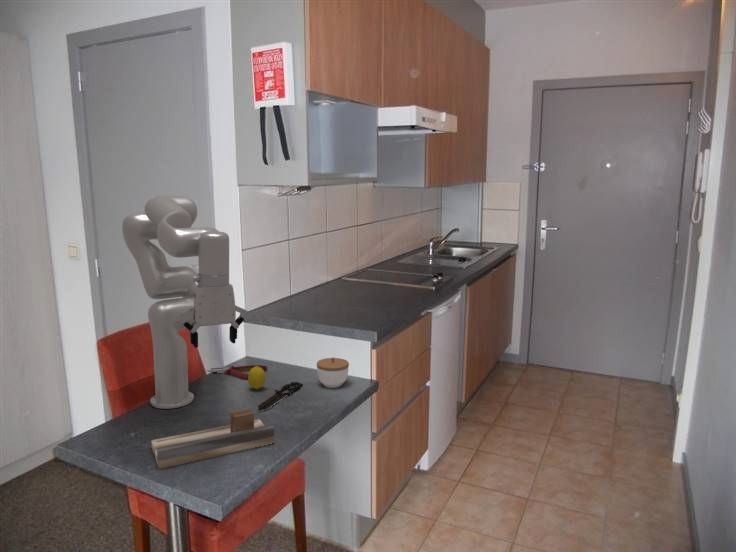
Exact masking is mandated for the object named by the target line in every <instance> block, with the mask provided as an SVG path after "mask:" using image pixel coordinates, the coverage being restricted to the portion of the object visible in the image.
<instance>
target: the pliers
mask: <svg viewBox="0 0 736 552" xmlns="http://www.w3.org/2000/svg"><path fill="white" fill-rule="evenodd" d="M255 366H258V367H260V368H262V369H263V370H264V372H268V367H267V366H266V365H262V364H250V365H242V366H241V365H239V366H234V365H231V366H230V367H226V366H225V367H212V368H210V369H209V370H207V372H208V373H213V372H216V371H217V373H216V374H219V373H226V374H225V376H226V375H228V376H231V375H232V376H231V377H234V376H235V377H234V378H237V377H238V378H237V379H240V380H244V381H248V374H249V373H246V372H249V371H250V370H251V369H252V368H254V367H255Z"/></svg>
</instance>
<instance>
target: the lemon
mask: <svg viewBox="0 0 736 552" xmlns="http://www.w3.org/2000/svg"><path fill="white" fill-rule="evenodd" d="M247 374H248V380H247V381H248V384H249V386H250V387H251V388H253V389H255V390H256V391H257V390H259V389H260V388H262V387H263V386H264V385H265V383H266V373H265V371H264V370H263V369H262V368H260V367H258V366H255V367H254V368H252V369H251V370H250V371H248V373H247Z"/></svg>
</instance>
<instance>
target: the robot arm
mask: <svg viewBox="0 0 736 552" xmlns="http://www.w3.org/2000/svg"><path fill="white" fill-rule="evenodd" d="M197 217H198V207H197V205H196V202H195V201H194V200H193V198H191V197H189V196H186V195H157V196H153V197H151V198H150V199H148V200H147V201H146V202H145V205H144V212H134V213H130V214H128V215H126V216H125V218H123V221H122V226H121V228H122V229H121V230H122V236H123V239H124V242H125V245H126V246H127V249H128V250H129V252H130V253H131V255H132V256H133V258H134V260H135V262H136V264H137V267H138V271H139V274H140V277H141V281H142V284H143V288H144V290H145V293H146V294H147V296H148V298H150V299H151V300H159V301H156V302H154V303H153V304H151V305H150V306H149V308H148V312H147V317H148V319H147V320H148V323H149V326H150V327H149V328H150V331H151V332H150V333H151V338H152V349H153V350H152V351H153V370H154V390H155V395H153V396H152V397H151V398H150V400H149V401H150V406H152V407H154V408H155V409H164V410H166V409H168V410H169V409H177V408H182V407H185V406H188V405H190V404H191V403H192V402H194V400H195V394H194V393H193V392H191V391H190V390H189V375H188V374H189V368H188V350H187V349H188V347H187V346H188V345H187V342H186V340H185V339H184V338H183V337H182V336H181V334H179V331H184V330H188V331H190V336H189V337H190V338H189V339H190V344H191V345H192V346H193V347H194V348H195V349H196V348H199V333H198V331H197V330H198V329H199V328H200V327H208V326H219V325H228V324H230V326H229V342H231V343H232V344H236V340H237V339H238V329H239V328H240V326H241V324H242V323H243V322H244V321H245V319H246V317H247V315H248V311H247V310H246V309H245V308H243V307H240V306H238V305H236V300H235V292H234V286H233V285H232V284H231V283H230V236H229V234H228V233H227V232H224V231H219V230H218V229H217V228H215V227H210V226H206V227H201V226H200V227H192V225H194V223H195V222H196V220H197ZM150 240H157V241H158V244H159V246H160V248H161V249H160V248H159V247H158V245H156V244H155V243H153V242H151V241H150ZM163 251H164V252H165V253H167V254H168V255H169V256H170V257H174V258H180V259H181V258H189V257H190V258H191V257H192V258H193V257H198V273H197V272H196V271H195V270H194V269H193V268H192V267H190V266H187V265H186V266H185V265H181V266H170V265H169V263H168V261H167V257H166V254H165V253H164V252H163ZM236 312H237V313H239V316H238V317H237V318H236V316H237V315H236V314H237V313H236Z"/></svg>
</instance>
